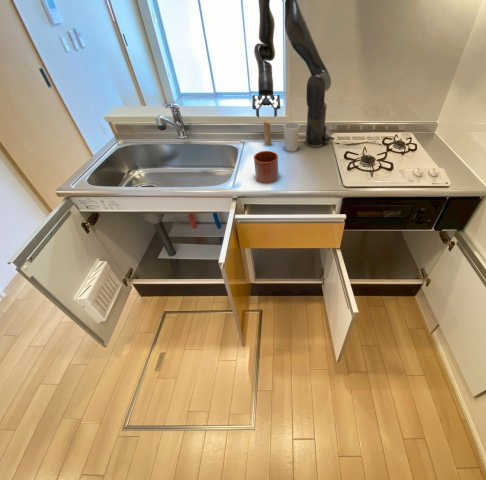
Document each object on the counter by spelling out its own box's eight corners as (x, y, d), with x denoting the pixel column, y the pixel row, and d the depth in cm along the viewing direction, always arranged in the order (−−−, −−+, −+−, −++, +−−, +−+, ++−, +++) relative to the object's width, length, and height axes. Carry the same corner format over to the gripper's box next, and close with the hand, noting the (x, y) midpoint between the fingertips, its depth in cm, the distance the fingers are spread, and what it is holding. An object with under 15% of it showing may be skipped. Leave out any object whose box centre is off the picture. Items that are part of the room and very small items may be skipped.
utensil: (270, 142, 143) (269, 120, 135) (271, 145, 141) (270, 122, 133) (264, 143, 143) (263, 120, 134) (265, 146, 141) (264, 123, 132)
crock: (275, 169, 124) (275, 149, 117) (280, 181, 118) (280, 161, 110) (254, 172, 123) (252, 152, 116) (258, 184, 116) (255, 164, 109)
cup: (281, 150, 137) (280, 127, 129) (287, 143, 142) (287, 121, 134) (295, 153, 135) (295, 130, 126) (301, 146, 140) (302, 123, 131)
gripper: (250, 80, 131) (252, 113, 132) (279, 80, 132) (280, 113, 132) (252, 89, 139) (253, 120, 139) (279, 88, 139) (280, 119, 140)
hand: (266, 116), depth 136 cm, fingers open, 8 cm apart
